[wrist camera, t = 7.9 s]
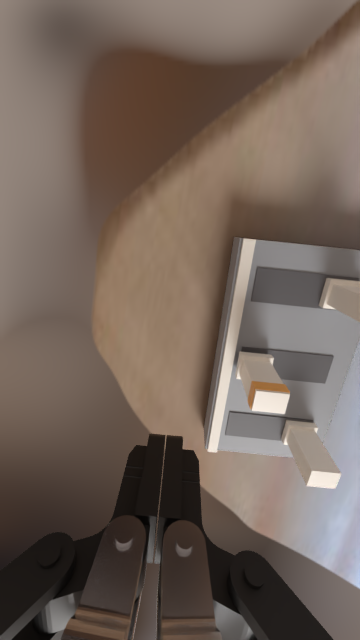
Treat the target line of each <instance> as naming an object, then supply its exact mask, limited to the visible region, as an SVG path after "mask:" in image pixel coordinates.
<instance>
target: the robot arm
mask: <svg viewBox="0 0 360 640" xmlns="http://www.w3.org/2000/svg"><path fill="white" fill-rule="evenodd" d="M164 445H165V435H159V434H149V439H148V445H147V446H140V445H136V446H135V447H134V449H133V450H132V451H131V452H130V454H129V456H128V460H127V464H126V468H125V472H124V476H123V479H122V483H121V487H120V491H119V495H118V499H117V503H116V507H115V510H114V514H113V517H112V519H111V521H110V522H109V524H108V525H107V526H106V527H105V528H104V529H103V530H102V531H100V532H99V533H97V534H95V535H93V536H90V537H87V538H84V539H80V540H76V541H73V540H72V538H71V537H70V536H69V535H67V534H65V533H62V532H55V533H51V534H48V535H46V536H44V537H43V538H41V539H40V540H38V541H37V542H36V543H35V544H33V545H32V546H31V547H30V548H28V549H27V550H26V551H25V552H23V553H22V554H21V555H20V556H19V557H17V558H16V559H14V560H13V561H12V562H11V563H9V564H8V565H7V566H6V567H4V568H3V569H2V570H1V571H0V640H60V639H61V640H133V636H134V630H135V625H136V620H137V614H138V609H139V604H140V597H141V592H142V589H143V586H144V581H145V573H146V564H147V563H152V562H153V553H154V543H155V533H156V523H157V514H158V504H159V495H160V485H161V476H162V475H161V474H162V466H163V455H164ZM182 446H183V437H181V436H171V435H167V439H166V449H165V460H164V469H163V479H162V490H161V501H160V510H159V521H158V531H157V541H156V552H155V563H158V564H160V570H159V581H158V591H157V625H156V640H333V639H332V637H331V636H330V635H329V634H328V633H327V631H326V630H325V629H324V628H323V627H322V626H321V624H320V623H319V622H318V621H317V620H316V618H315V617H314V616H313V615H312V614H311V613H310V611H309V610H308V609H307V608H306V607H305V605H304V604H303V603H302V602H301V601H300V600H299V598H298V597H297V596H296V595H295V594H294V592H293V591H292V590H291V589H290V588H289V587H288V585H287V584H286V583H285V582H284V581H283V579H282V578H281V577H280V576H279V575H278V574H277V572H276V571H275V570H274V569H273V568H272V567H271V565H270V564H269V563H268V562H267V561H266V560H265V559H264V558H263V557H262V556H261V555H259V554H258V553H255V552H252V551H241V552H239V553H238V554H236V555H233V554H231V553H228V552H226V551H224V550H222V549H220V548H218V547H217V546H216V545H214V544H213V543H212V542H211V541H210V540H209V538H208V537H207V535H206V534H205V532H204V529H203V526H202V517H201V497H200V477H199V460H198V458H197V456H196V454H195V452H194V451H193V450H183V449H182Z"/></svg>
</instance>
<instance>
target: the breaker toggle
mask: <svg viewBox="0 0 360 640" xmlns="http://www.w3.org/2000/svg"><path fill="white" fill-rule="evenodd" d="M273 360H274V358H273V356H272V355H269V354H259V353H249V352H239V357H238V362H237V368H236V373H235V376H236V379H241V381H242V384H243V387H244V390H245V392H246V395H247V398H248V400H247V402H248V405H249V407H250V409H251V410H252V411H260V412H269V413H279V414H285V411H286V408H287V404H288V400H289V397H290V391H289V389H288V388H287V386H286V385H285V384H283V382H282V380H281V379H280V377H279V375H278V374H277V372H276V370H275V369H274V367H273Z"/></svg>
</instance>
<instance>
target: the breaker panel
mask: <svg viewBox="0 0 360 640" xmlns="http://www.w3.org/2000/svg"><path fill="white" fill-rule="evenodd" d="M359 339H360V250H356V249H346V248H337V247H327V246H318V245H308V244H298V243H289V242H279V241H269V240H260V239H250V238H240V237H234V240H233V247H232V253H231V259H230V266H229V272H228V278H227V285H226V291H225V297H224V304H223V310H222V316H221V323H220V329H219V335H218V342H217V348H216V354H215V361H214V367H213V373H212V380H211V386H210V392H209V399H208V405H207V411H206V418H205V424H204V439H205V449H207V450H208V452H216V453H217V450H223V451H232V452H242V453H252V454H261V455H271V456H281V457H291V458H294V459H295V461H296V464H297V466H298V468H299V470H300V472H301V475H302V477H303V479H304V481H305V483H306V486H312V487H322V488H332V489H335V488H336V486H337V483H338V481H339V478H340V476H341V472H340V471H339V469H338V468H337V466H336V464H335V463H334V461H333V459H332V458H331V456H330V455H329V453H328V451H327V450H326V448H325V447H324V445H323V442H324V439H325V436H326V433H327V430H328V427H329V425H330V422H331V419H332V416H333V413H334V410H335V407H336V405H337V402H338V399H339V396H340V393H341V390H342V387H343V385H344V382H345V379H346V376H347V373H348V370H349V367H350V365H351V362H352V359H353V356H354V353H355V350H356V348H357V345H358V342H359ZM239 352H249V353H259V354H269V355H272V356H273V358H274V360H273V367H274V369H275V370H276V372H277V374H278V375H279V377H280V379H281V380H282V382H283V384H285V385H286V386H287V388H288V389H289V391H290V397H289V400H288V404H287V408H286V411H285V414H279V413H269V412H260V411H252V410H251V409H250V407H249V405H248V402H247V400H248V398H247V395H246V392H245V390H244V387H243V384H242V381H241V379H236V376H235V373H236V368H237V362H238V357H239Z"/></svg>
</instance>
